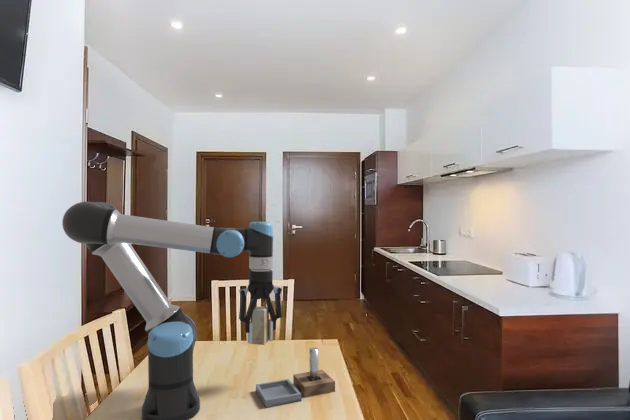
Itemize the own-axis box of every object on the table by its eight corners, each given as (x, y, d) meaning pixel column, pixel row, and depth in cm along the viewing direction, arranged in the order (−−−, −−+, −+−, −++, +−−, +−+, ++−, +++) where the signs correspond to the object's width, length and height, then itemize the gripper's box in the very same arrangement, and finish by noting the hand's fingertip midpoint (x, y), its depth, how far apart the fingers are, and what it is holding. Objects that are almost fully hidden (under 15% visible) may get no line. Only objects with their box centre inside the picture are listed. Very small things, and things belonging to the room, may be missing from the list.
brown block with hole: (304, 397, 121) (304, 387, 121) (293, 383, 131) (293, 374, 131) (335, 391, 125) (335, 381, 125) (322, 378, 134) (322, 369, 134)
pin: (311, 390, 126) (311, 351, 126) (308, 386, 129) (308, 348, 129) (320, 388, 127) (319, 349, 127) (316, 385, 130) (316, 347, 130)
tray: (265, 407, 115) (265, 400, 115) (255, 390, 126) (255, 384, 126) (301, 400, 119) (301, 393, 119) (288, 385, 130) (288, 378, 130)
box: (264, 345, 129) (264, 310, 129) (251, 344, 130) (251, 309, 130) (269, 340, 134) (269, 306, 134) (256, 339, 135) (256, 305, 135)
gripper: (233, 272, 125) (232, 348, 125) (292, 269, 132) (292, 341, 132) (229, 269, 132) (228, 341, 132) (285, 266, 139) (284, 335, 139)
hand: (260, 341), depth 132 cm, fingers closed on box, 6 cm apart
